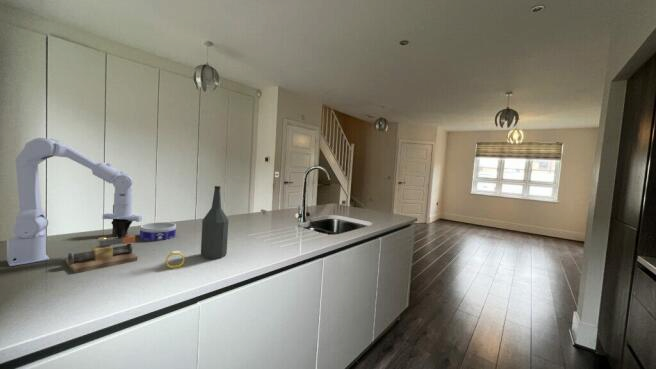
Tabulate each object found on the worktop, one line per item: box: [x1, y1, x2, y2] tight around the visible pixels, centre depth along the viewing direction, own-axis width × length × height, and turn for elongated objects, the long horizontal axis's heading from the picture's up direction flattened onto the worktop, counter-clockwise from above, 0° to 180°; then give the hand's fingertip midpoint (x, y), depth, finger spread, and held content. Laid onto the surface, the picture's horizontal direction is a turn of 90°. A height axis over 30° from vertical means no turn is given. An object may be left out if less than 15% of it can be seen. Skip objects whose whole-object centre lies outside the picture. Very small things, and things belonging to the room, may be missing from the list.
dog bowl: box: [139, 221, 177, 242], centre depth 137 cm, size 15×15×6 cm
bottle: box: [200, 185, 230, 260], centre depth 116 cm, size 10×10×30 cm
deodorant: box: [112, 204, 129, 238], centre depth 134 cm, size 6×6×15 cm
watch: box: [165, 250, 185, 269], centre depth 102 cm, size 6×3×6 cm, turn 122°
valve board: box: [63, 243, 138, 274], centre depth 102 cm, size 18×14×6 cm
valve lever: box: [97, 235, 136, 247], centre depth 105 cm, size 11×3×3 cm, turn 140°
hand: (121, 237), depth 111 cm, fingers closed
